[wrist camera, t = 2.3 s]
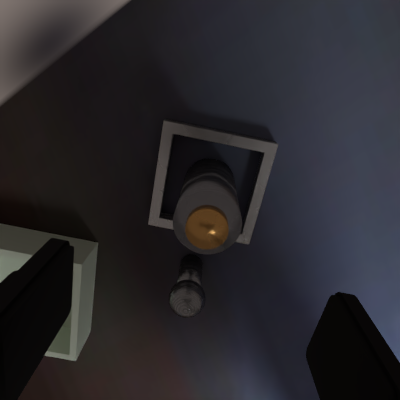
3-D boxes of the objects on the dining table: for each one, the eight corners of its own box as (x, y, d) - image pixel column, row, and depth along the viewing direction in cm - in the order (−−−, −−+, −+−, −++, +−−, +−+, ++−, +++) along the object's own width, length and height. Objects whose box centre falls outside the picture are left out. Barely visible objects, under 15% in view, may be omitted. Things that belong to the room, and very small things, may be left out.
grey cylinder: (239, 163, 24) (251, 204, 16) (227, 208, 26) (233, 267, 18) (190, 153, 24) (177, 189, 16) (181, 199, 26) (165, 254, 17)
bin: (98, 242, 28) (81, 264, 24) (90, 331, 31) (75, 361, 28) (-19, 219, 27) (-52, 238, 24) (-12, 311, 31) (-40, 339, 28)
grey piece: (275, 141, 24) (294, 160, 18) (233, 285, 28) (238, 336, 23) (166, 118, 23) (149, 130, 18) (143, 267, 28) (125, 314, 22)
